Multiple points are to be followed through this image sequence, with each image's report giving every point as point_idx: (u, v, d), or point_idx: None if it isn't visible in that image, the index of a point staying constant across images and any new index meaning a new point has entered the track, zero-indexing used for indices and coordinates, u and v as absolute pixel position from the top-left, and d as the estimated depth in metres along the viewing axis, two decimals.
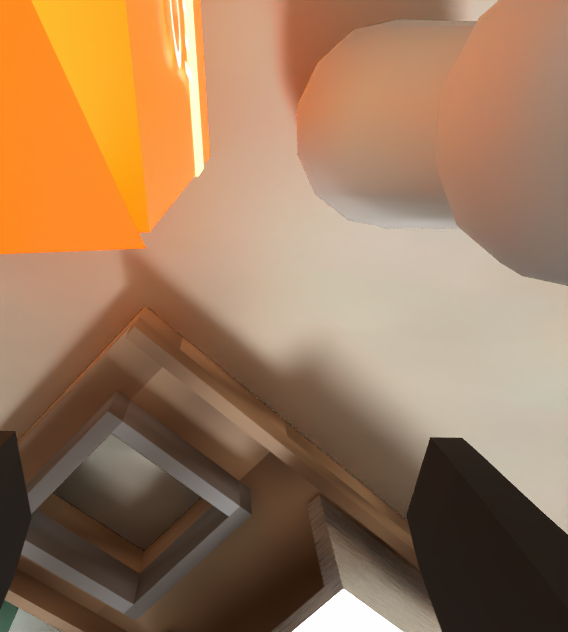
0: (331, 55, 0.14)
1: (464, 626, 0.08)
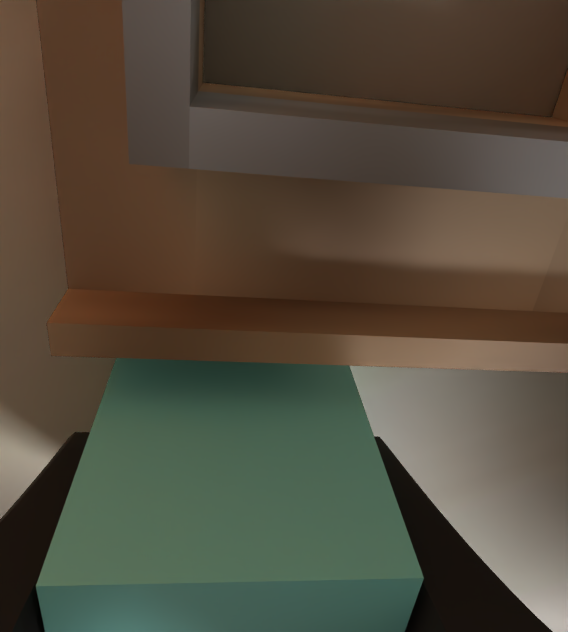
0: None
1: None
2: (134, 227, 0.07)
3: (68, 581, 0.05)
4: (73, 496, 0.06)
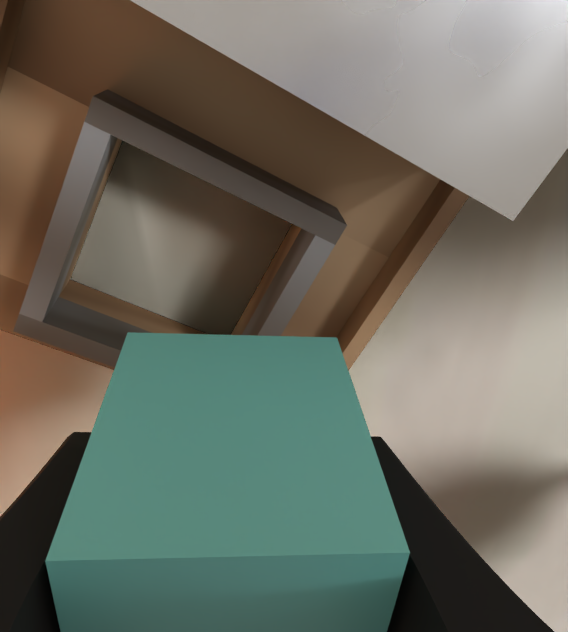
0: None
1: None
2: None
3: (74, 557, 0.06)
4: (79, 481, 0.06)
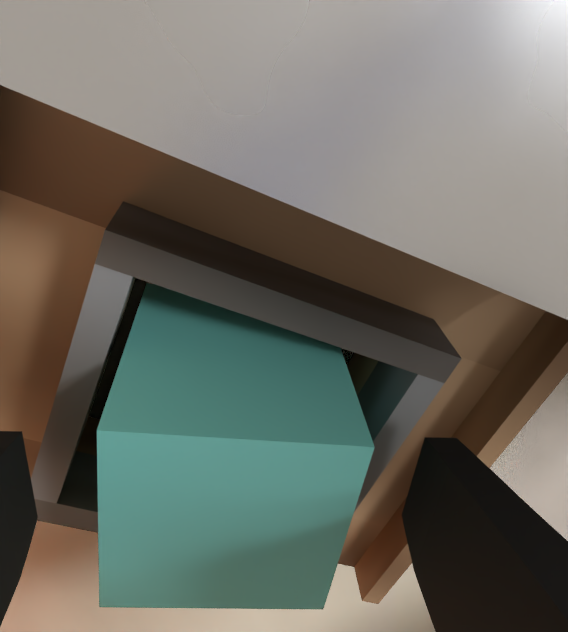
0: None
1: (456, 625, 0.08)
2: None
3: (119, 429, 0.07)
4: (117, 382, 0.08)
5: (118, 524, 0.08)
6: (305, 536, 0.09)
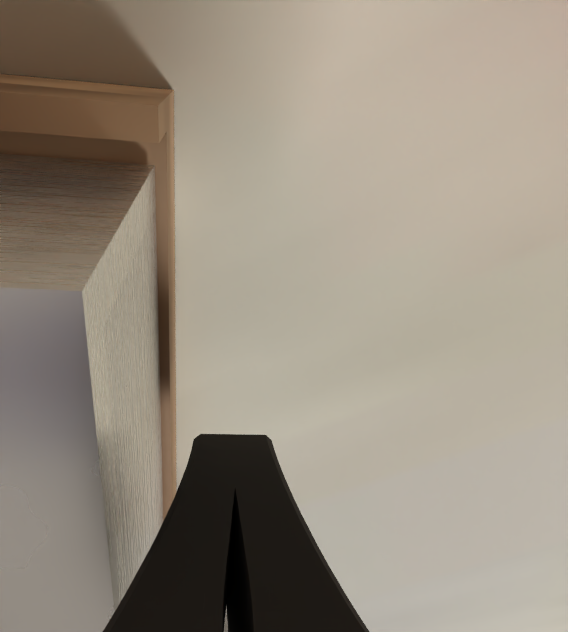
0: None
1: None
2: None
3: None
4: None
5: None
6: None
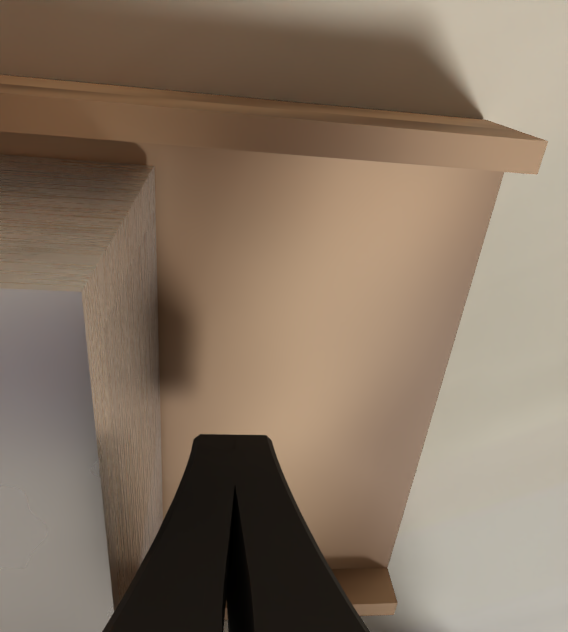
0: None
1: None
2: None
3: None
4: None
5: None
6: None
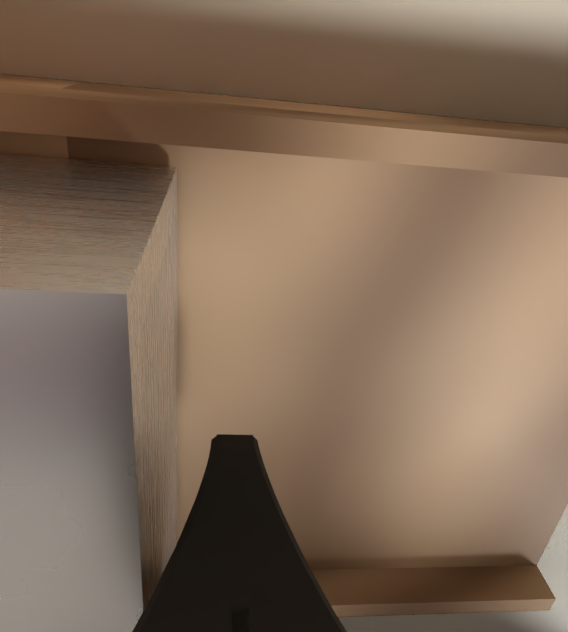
0: None
1: None
2: None
3: None
4: None
5: None
6: None
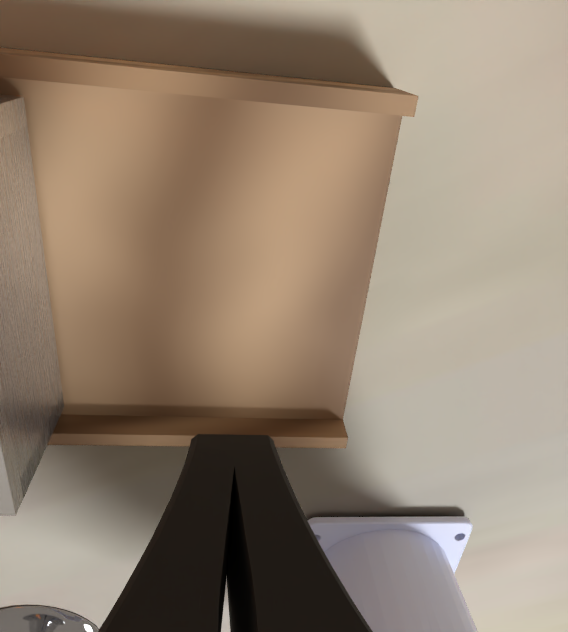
0: None
1: None
2: None
3: None
4: None
5: None
6: None
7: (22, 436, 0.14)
